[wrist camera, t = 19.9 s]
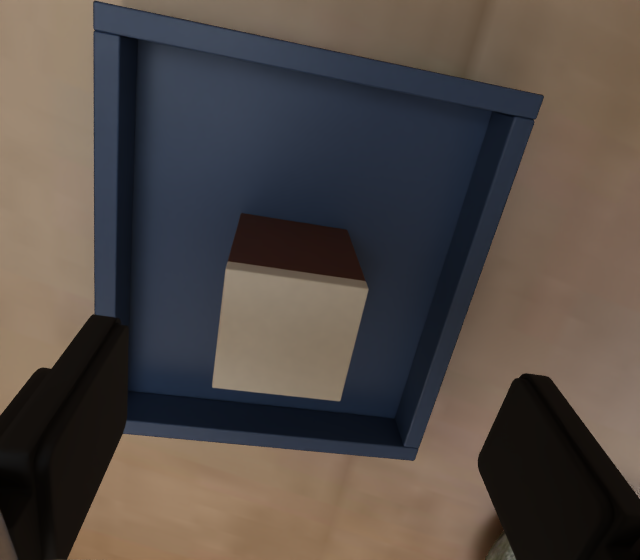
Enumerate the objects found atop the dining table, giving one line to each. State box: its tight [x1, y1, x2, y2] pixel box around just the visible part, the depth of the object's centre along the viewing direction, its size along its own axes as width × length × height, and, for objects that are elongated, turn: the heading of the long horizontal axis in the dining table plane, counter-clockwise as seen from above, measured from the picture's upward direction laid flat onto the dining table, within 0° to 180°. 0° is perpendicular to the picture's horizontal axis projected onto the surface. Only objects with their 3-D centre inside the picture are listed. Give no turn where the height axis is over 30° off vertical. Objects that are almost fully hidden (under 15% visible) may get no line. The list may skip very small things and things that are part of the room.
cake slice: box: [212, 213, 369, 401], centre depth 18 cm, size 4×4×6 cm
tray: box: [93, 1, 544, 461], centre depth 20 cm, size 17×15×2 cm
